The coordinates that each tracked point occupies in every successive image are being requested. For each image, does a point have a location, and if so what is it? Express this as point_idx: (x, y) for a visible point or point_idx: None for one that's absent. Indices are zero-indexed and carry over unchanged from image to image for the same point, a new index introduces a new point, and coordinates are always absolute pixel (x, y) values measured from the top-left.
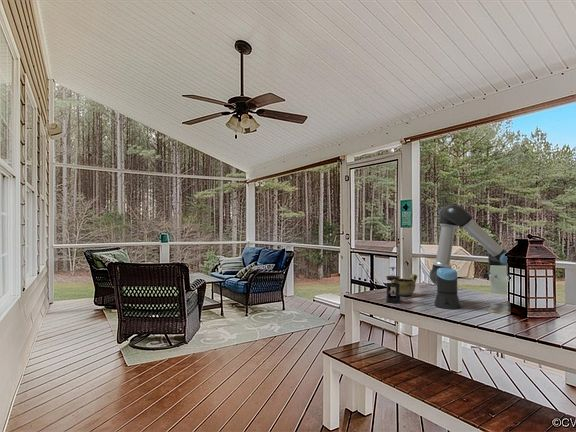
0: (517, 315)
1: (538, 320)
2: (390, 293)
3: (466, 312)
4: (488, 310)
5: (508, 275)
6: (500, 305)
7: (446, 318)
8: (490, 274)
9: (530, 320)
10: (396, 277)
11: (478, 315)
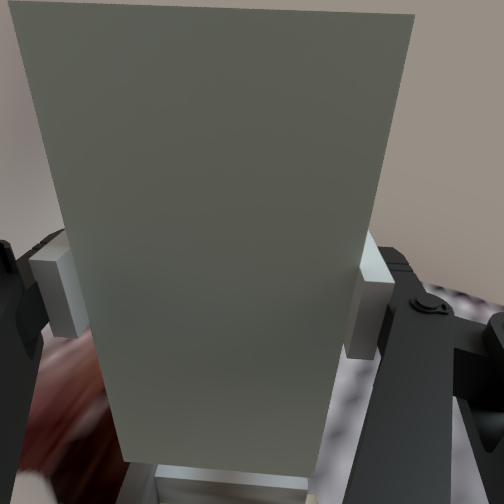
0: (110, 478)
1: (50, 383)
2: None
3: (455, 446)
4: (315, 498)
5: (9, 258)
6: (220, 472)
7: (467, 302)
8: (359, 249)
9: (100, 370)
10: None
11: (364, 390)
